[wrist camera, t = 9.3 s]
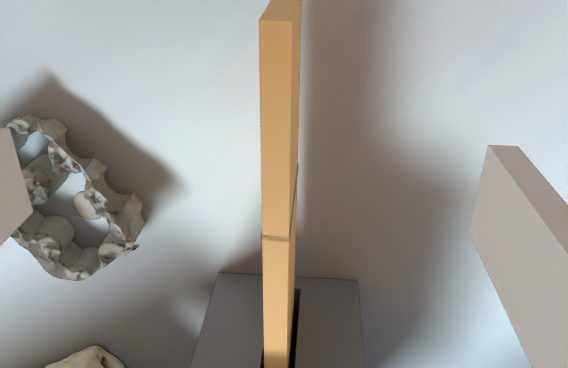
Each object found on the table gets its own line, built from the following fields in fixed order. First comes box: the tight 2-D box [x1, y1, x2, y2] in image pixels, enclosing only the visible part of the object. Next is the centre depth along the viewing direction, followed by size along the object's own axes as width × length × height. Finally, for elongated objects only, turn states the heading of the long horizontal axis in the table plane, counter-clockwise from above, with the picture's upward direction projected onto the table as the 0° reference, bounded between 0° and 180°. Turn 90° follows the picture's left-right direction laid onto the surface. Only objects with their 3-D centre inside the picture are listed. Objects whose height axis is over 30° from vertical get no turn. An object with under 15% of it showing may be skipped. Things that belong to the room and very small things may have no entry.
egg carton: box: [4, 113, 145, 281], centre depth 31 cm, size 11×8×4 cm
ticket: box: [259, 0, 302, 368], centre depth 26 cm, size 22×1×7 cm, turn 179°
